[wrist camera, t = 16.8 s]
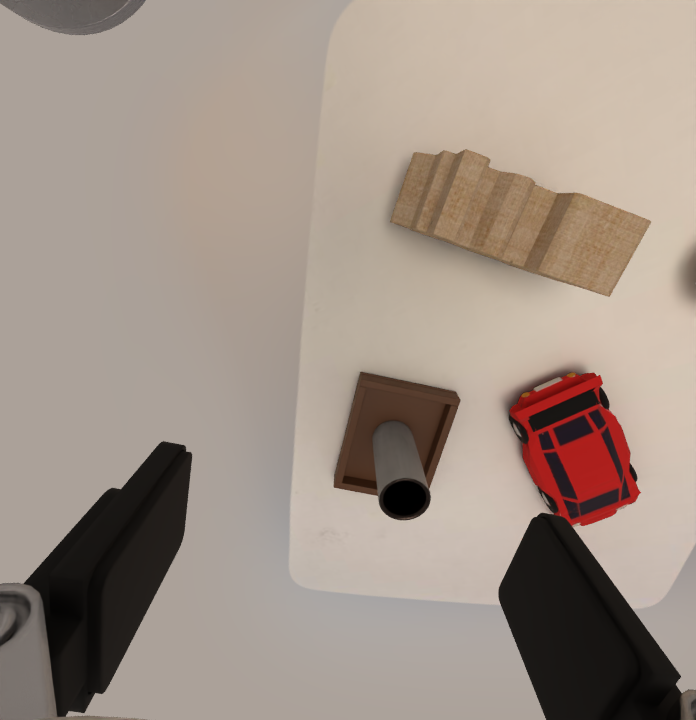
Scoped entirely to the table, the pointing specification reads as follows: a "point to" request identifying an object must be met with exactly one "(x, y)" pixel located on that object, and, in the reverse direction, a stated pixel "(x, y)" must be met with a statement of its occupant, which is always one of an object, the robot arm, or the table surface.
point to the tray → (393, 403)
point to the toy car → (575, 449)
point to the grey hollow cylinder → (399, 472)
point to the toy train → (518, 220)
